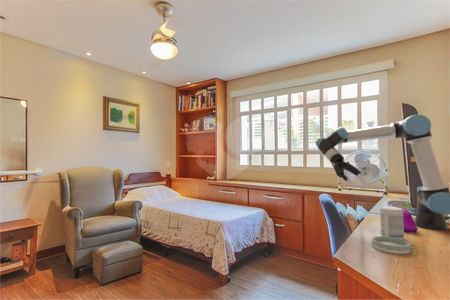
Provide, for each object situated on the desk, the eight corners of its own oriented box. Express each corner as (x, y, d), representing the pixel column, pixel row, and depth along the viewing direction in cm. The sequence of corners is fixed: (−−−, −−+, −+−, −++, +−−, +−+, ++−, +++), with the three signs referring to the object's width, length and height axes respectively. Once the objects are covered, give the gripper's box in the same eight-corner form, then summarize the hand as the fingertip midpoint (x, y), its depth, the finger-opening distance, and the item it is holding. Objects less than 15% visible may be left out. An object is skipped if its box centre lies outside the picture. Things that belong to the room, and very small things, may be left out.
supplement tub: (407, 238, 122) (406, 208, 122) (399, 242, 116) (398, 210, 117) (386, 234, 130) (385, 205, 130) (377, 237, 124) (376, 207, 125)
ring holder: (392, 242, 116) (392, 235, 117) (419, 253, 103) (418, 245, 103) (365, 243, 115) (364, 236, 115) (388, 254, 101) (388, 247, 101)
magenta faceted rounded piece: (418, 234, 129) (418, 205, 130) (393, 231, 135) (392, 203, 136) (416, 229, 139) (415, 202, 139) (392, 226, 145) (391, 200, 145)
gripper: (343, 161, 160) (366, 187, 146) (317, 161, 147) (340, 189, 133) (350, 153, 155) (376, 178, 142) (325, 152, 143) (350, 180, 129)
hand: (359, 184), depth 138 cm, fingers open, 13 cm apart
